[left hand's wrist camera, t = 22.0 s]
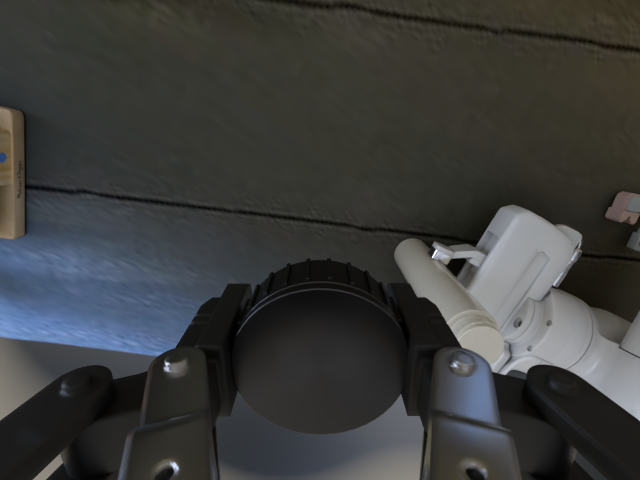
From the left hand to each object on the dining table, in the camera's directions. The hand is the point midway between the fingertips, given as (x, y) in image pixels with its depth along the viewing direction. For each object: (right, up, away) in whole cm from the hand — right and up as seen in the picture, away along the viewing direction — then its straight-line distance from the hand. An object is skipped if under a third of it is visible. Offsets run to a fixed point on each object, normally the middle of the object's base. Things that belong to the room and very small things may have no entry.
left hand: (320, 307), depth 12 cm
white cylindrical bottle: (+11, +1, +29) cm, 31 cm away
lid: (0, -1, -3) cm, 3 cm away
